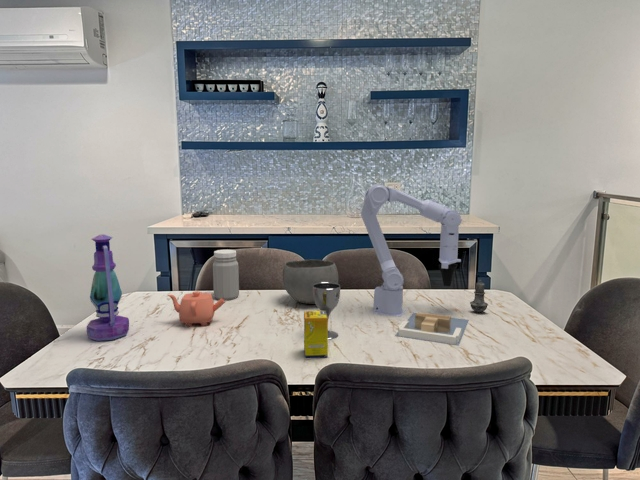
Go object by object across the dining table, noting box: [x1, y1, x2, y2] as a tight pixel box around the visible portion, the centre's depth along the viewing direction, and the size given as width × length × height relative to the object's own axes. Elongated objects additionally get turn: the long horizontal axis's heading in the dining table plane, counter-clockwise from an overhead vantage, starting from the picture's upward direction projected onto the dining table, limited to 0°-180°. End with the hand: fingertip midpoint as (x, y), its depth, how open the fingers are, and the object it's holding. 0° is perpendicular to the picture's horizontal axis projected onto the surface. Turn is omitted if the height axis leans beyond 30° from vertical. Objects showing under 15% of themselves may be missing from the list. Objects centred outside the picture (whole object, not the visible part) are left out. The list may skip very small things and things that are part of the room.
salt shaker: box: [469, 279, 489, 314], centre depth 152 cm, size 6×6×12 cm
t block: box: [415, 311, 452, 333], centre depth 133 cm, size 10×10×4 cm
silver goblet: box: [313, 282, 341, 340], centre depth 132 cm, size 8×8×15 cm
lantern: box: [86, 233, 130, 342], centre depth 130 cm, size 13×12×30 cm
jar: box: [212, 248, 240, 301], centre depth 172 cm, size 10×10×18 cm
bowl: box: [282, 258, 339, 305], centre depth 166 cm, size 20×20×15 cm
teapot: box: [167, 290, 226, 327], centre depth 143 cm, size 14×12×10 cm
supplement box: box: [303, 310, 329, 359], centre depth 119 cm, size 6×6×11 cm
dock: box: [397, 319, 462, 345], centre depth 131 cm, size 17×8×2 cm, turn 66°
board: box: [394, 312, 470, 346], centre depth 138 cm, size 18×24×1 cm
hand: (447, 285), depth 151 cm, fingers closed
